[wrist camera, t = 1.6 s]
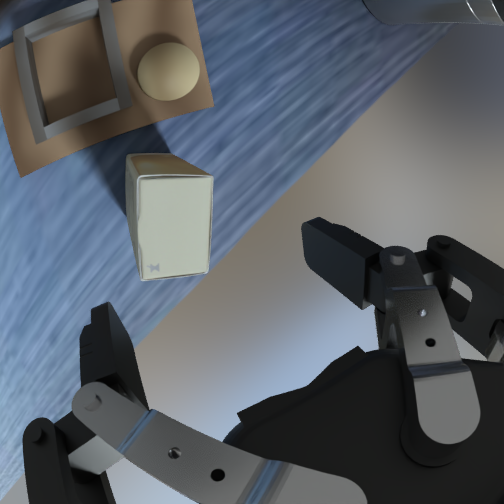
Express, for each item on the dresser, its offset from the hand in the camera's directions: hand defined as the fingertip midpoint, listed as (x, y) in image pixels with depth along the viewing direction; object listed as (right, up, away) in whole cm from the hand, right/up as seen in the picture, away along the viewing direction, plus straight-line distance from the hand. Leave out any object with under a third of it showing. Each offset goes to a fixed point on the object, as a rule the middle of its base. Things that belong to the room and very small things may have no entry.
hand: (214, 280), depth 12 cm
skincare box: (-8, +7, +15) cm, 19 cm away
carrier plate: (-11, +16, +8) cm, 21 cm away
